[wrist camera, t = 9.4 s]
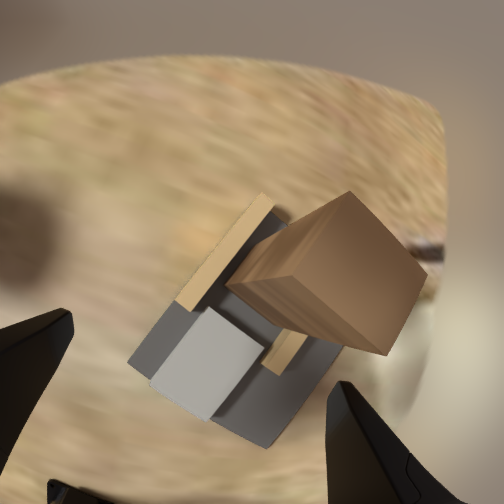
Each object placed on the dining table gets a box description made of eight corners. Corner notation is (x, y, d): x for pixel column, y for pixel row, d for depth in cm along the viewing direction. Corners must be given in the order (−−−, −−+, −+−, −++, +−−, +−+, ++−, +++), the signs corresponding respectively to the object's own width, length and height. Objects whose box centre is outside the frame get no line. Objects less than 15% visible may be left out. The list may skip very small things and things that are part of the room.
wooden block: (273, 325, 20) (386, 356, 9) (222, 285, 20) (291, 275, 8) (301, 285, 21) (427, 274, 10) (254, 245, 21) (349, 190, 9)
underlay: (264, 447, 19) (272, 458, 17) (127, 361, 18) (123, 367, 16) (367, 299, 23) (381, 299, 21) (254, 200, 22) (261, 192, 20)
